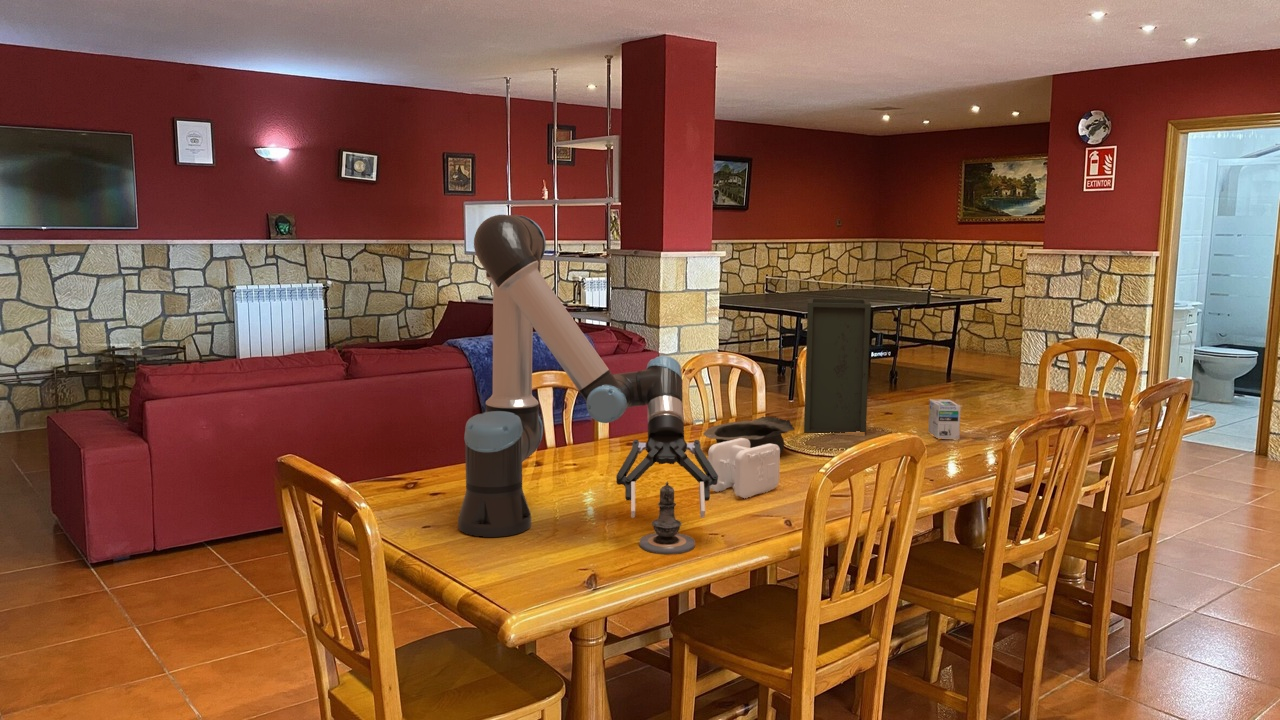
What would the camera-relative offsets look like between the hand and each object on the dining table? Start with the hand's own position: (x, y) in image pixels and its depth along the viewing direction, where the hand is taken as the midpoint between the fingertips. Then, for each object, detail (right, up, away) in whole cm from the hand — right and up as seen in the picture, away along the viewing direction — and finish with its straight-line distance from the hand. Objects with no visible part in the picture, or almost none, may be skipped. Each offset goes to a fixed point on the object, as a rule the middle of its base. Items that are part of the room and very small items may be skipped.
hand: (668, 514), depth 189 cm
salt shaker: (0, -6, +3) cm, 7 cm away
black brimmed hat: (+24, +4, +82) cm, 86 cm away
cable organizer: (+19, -2, +42) cm, 47 cm away
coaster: (0, -7, +3) cm, 7 cm away
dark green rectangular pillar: (+55, +8, +114) cm, 127 cm away
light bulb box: (+86, +7, +104) cm, 135 cm away
